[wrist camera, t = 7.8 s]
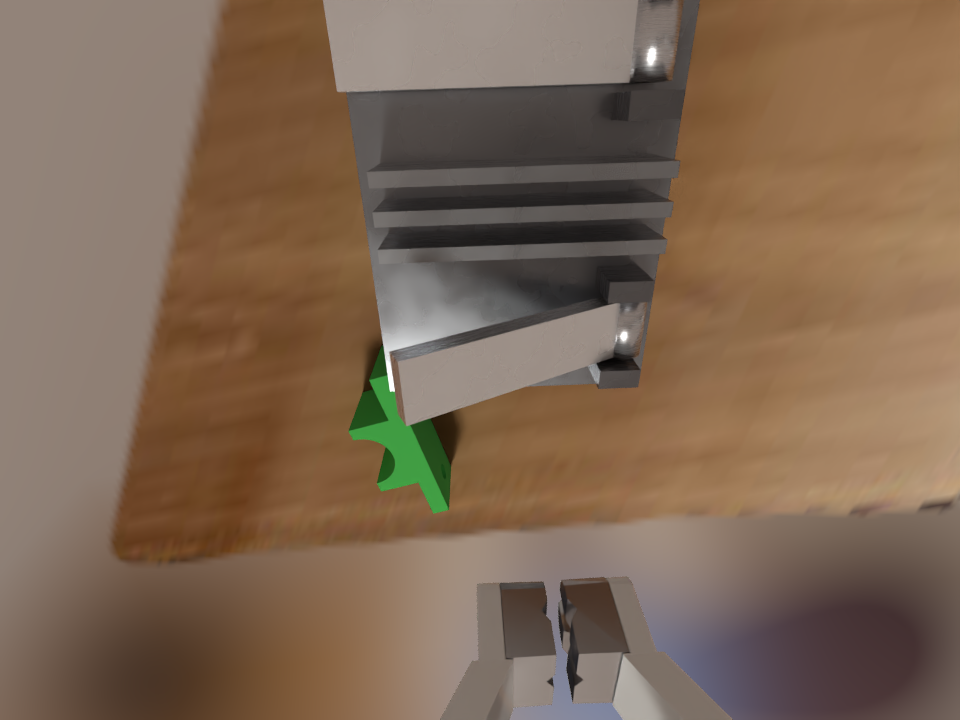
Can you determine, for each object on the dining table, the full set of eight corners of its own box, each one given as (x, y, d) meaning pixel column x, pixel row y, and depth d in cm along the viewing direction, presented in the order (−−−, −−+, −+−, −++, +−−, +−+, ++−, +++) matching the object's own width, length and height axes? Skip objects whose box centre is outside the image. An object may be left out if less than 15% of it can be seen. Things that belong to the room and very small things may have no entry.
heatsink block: (662, -56, 21) (762, -139, 14) (614, 342, 30) (658, 412, 23) (351, -46, 21) (291, -125, 14) (401, 350, 30) (381, 423, 23)
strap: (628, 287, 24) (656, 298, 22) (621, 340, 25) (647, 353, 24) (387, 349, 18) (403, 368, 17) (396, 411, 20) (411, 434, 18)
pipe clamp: (345, 354, 31) (326, 391, 27) (398, 339, 30) (387, 374, 26) (405, 477, 36) (397, 523, 32) (451, 465, 35) (449, 511, 31)
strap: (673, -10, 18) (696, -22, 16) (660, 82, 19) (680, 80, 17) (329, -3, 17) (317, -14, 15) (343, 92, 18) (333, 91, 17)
